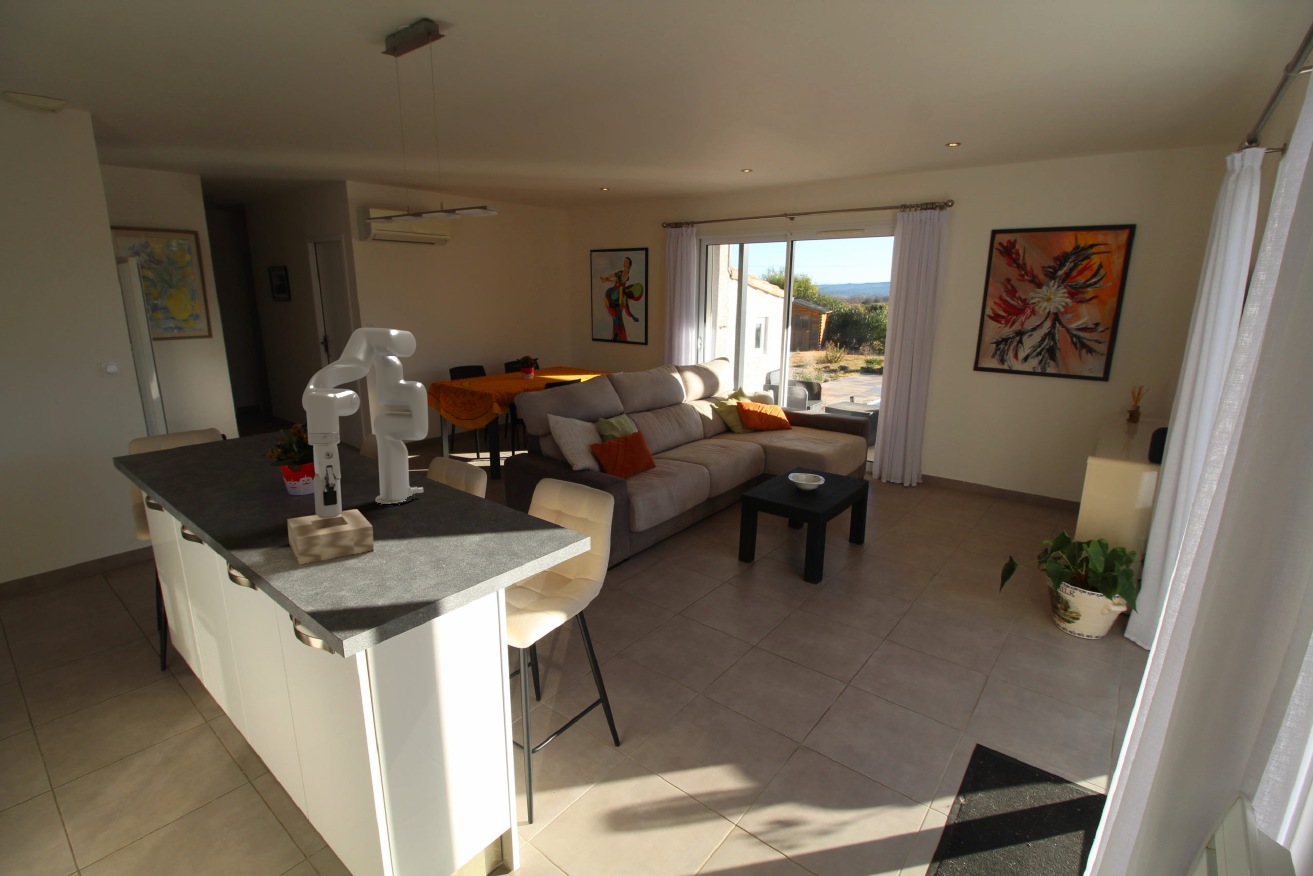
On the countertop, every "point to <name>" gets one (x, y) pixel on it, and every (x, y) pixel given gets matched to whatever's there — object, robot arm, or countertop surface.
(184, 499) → the countertop surface
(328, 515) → the beverage can
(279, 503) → the countertop surface
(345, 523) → the holder block
